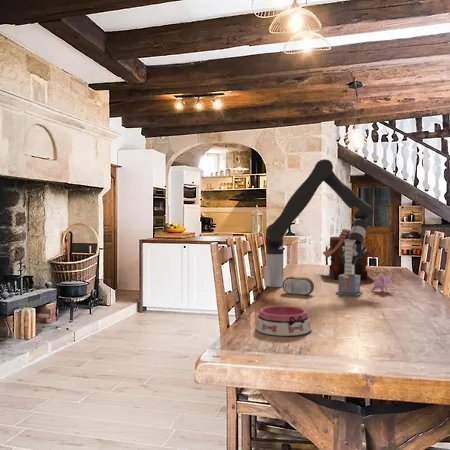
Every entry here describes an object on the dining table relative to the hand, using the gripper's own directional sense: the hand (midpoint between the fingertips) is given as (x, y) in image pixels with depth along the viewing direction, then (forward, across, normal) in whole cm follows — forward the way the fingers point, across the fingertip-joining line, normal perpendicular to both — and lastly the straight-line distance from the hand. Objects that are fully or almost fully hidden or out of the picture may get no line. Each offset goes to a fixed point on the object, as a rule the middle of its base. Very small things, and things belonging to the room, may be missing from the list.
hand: (348, 263), depth 220 cm
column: (+8, 0, +11) cm, 14 cm away
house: (-32, -20, +54) cm, 66 cm away
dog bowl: (+66, +4, -44) cm, 79 cm away
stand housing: (+9, 0, +12) cm, 15 cm away
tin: (+21, -20, +1) cm, 29 cm away
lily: (-1, +12, +22) cm, 25 cm away
